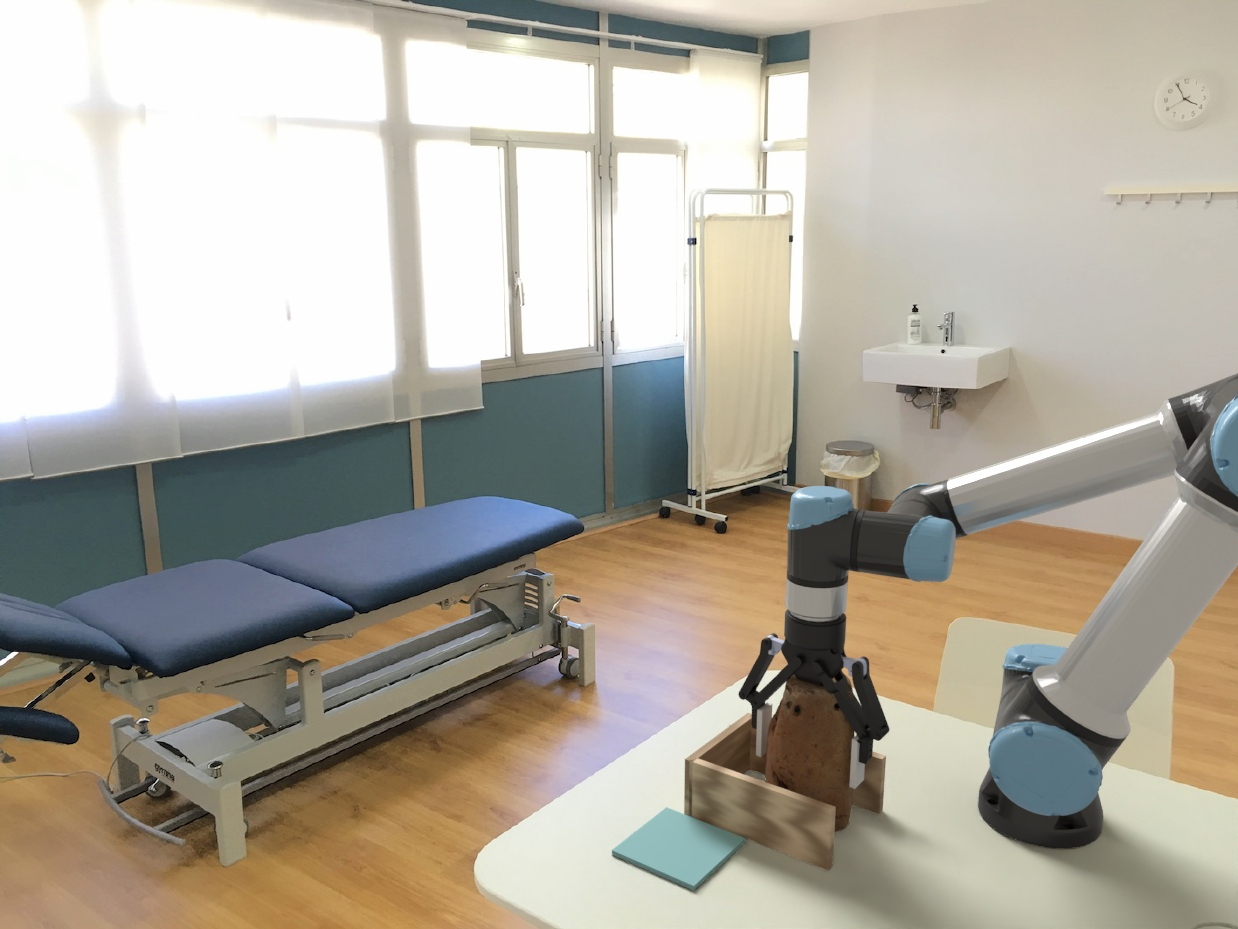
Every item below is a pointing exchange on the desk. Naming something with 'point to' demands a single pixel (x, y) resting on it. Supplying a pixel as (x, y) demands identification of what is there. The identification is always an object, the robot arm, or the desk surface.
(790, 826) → the wooden u-shaped enclosure
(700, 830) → the mat
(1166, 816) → the desk surface
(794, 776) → the brown pitted rock
